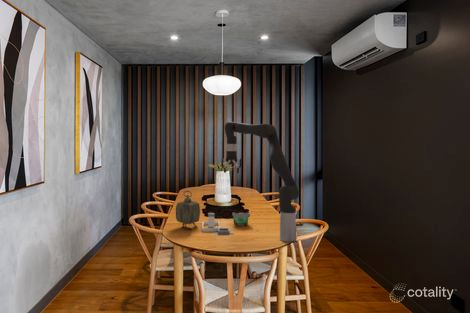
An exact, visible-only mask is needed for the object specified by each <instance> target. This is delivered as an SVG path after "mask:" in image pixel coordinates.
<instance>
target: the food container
mask: <svg viewBox="0 0 470 313" xmlns="http://www.w3.org/2000/svg"><path fill="white" fill-rule="evenodd" d="M231 215H232V220H233V225H234V226H235V227H247V226H248V225H249V217H250V212H232V214H231Z"/></svg>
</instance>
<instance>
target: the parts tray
mask: <svg viewBox="0 0 470 313" xmlns="http://www.w3.org/2000/svg"><path fill="white" fill-rule="evenodd" d="M204 226H208V221H202V224H201V232H203V233H204V232H206V233H207V232H214V231H218V228H221V224H220V221H215V220H214V226H218V227H214V228H208V227H204Z"/></svg>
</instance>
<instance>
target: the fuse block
mask: <svg viewBox="0 0 470 313" xmlns="http://www.w3.org/2000/svg"><path fill="white" fill-rule="evenodd" d="M217 228H218V227H217ZM213 235H214V236H216V235H217V236H218V235H220V236H221V235H223V236H224V235H228V236H229V235H234V231H233V230H230V228H229V227H220V228H218V231H213Z"/></svg>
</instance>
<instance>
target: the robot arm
mask: <svg viewBox="0 0 470 313" xmlns="http://www.w3.org/2000/svg"><path fill="white" fill-rule="evenodd" d="M224 132H225V137H226V149H225V151H226V152H225V158H224V157H223V158H221V165H220V166H221V168H223V173H224V174H227V166H228V165H229V166H231V165H232V166H234V165H235V166H236V174H239V172H240V168H242V159H241V158H238V157H237V156H238V146H237V143H238V142H237V139H238V138H237V136H236V135H234V133H239V134H243V135H253V136H257V137H260V138H262V139H267V141H268V144H269V149H270V150H269V162H270V164H271V166H272V168H273V170H274V171H275V173H276V174H277V175H278V176H279V177H280V178H281V179H282V181H283V183H284V185H282V186H281V187H279V191H278V203H279V204H278V205H279V210H280V216H279V219H280V221H279V240H280V241H281V242H286V243H293V242H297V223H296V221H297V220H296V219H297V208H296V206H294V205H292V201H294V200H297V199H298V198H299V196H300V191H299V187H298V185H297V183H296V181H295V179H294V177H293V175H292V172H291V170H290V167H289V165H288V162H287V159H286V156H285V155H284V151H283V149H282V147H281V142H280V141H279V140H280V139H279V136H278V133H277V130H276V127H275V126H274V125H272V124H269V123H261V124H260V123H259V124H250V123H244V122H236V121H227V122H226V123H225V124H224ZM224 162H226V163H225V165H224ZM237 162H238V163H239V165H238V164H237Z"/></svg>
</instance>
